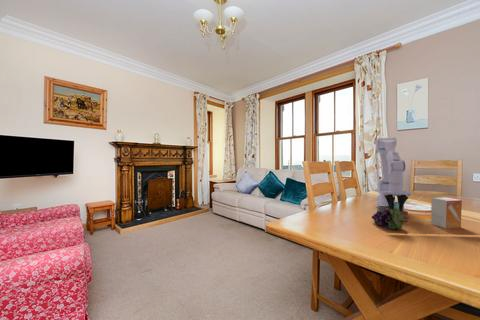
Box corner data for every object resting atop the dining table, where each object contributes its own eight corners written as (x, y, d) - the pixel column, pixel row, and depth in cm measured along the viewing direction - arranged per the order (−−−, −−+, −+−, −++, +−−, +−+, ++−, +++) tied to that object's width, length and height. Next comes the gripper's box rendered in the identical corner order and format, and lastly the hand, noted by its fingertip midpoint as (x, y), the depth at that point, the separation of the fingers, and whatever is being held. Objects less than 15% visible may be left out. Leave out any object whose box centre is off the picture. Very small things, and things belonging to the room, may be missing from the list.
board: (376, 213, 112) (377, 204, 112) (401, 214, 111) (401, 205, 111) (400, 225, 94) (400, 214, 94) (429, 225, 93) (430, 215, 93)
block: (384, 213, 110) (384, 207, 110) (397, 213, 110) (398, 208, 109) (393, 217, 103) (393, 211, 103) (407, 217, 103) (407, 211, 102)
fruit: (380, 229, 97) (417, 232, 84) (366, 229, 93) (402, 232, 79) (377, 208, 99) (412, 207, 86) (363, 206, 95) (398, 205, 82)
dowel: (390, 212, 108) (389, 201, 108) (396, 212, 108) (396, 201, 108) (394, 214, 105) (394, 203, 105) (401, 214, 105) (400, 202, 104)
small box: (446, 230, 87) (446, 200, 87) (430, 225, 94) (430, 197, 93) (461, 229, 89) (462, 199, 88) (445, 224, 95) (445, 196, 94)
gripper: (386, 184, 102) (386, 210, 103) (416, 184, 101) (416, 211, 102) (378, 182, 109) (377, 207, 110) (406, 182, 108) (405, 207, 109)
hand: (395, 209), depth 106 cm, fingers open, 4 cm apart
